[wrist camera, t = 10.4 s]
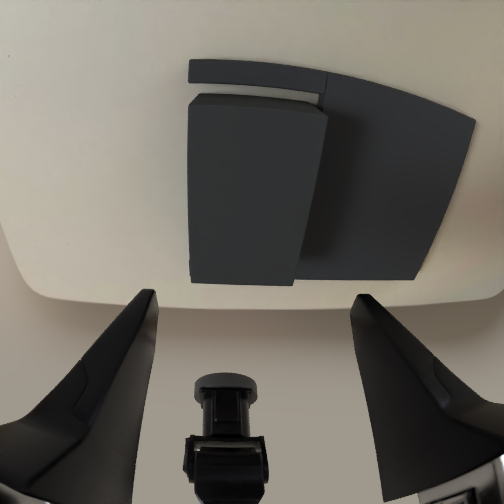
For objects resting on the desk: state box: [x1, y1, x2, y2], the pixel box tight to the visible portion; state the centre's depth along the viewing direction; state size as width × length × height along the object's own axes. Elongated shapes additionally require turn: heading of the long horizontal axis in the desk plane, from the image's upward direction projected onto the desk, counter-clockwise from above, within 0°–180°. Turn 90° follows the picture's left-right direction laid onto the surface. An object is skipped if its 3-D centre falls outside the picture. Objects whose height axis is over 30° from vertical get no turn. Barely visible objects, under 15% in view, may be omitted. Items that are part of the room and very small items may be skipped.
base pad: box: [188, 59, 476, 280], centre depth 18 cm, size 14×18×1 cm
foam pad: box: [187, 93, 328, 286], centre depth 16 cm, size 10×6×4 cm, turn 175°
